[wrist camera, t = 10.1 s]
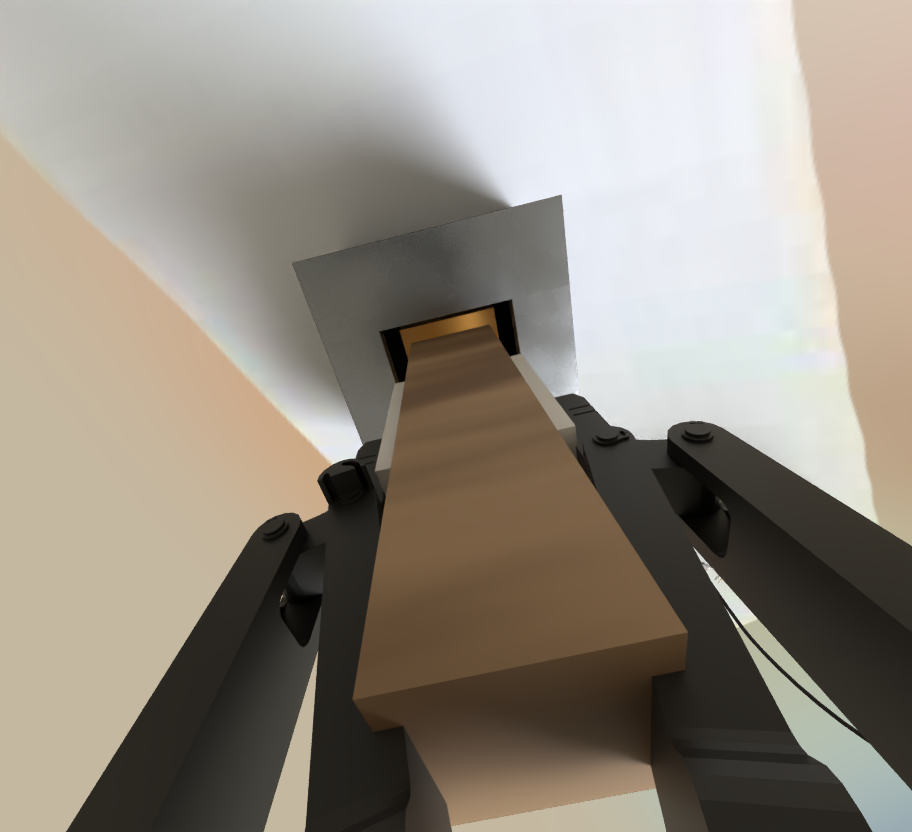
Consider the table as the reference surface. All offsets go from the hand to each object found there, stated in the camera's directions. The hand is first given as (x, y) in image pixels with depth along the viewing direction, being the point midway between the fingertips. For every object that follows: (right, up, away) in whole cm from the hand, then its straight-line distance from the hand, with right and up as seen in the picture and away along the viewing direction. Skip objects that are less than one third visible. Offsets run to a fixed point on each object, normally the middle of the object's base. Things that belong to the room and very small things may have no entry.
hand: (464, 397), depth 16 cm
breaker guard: (-1, +5, +12) cm, 13 cm away
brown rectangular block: (0, +2, +3) cm, 4 cm away
